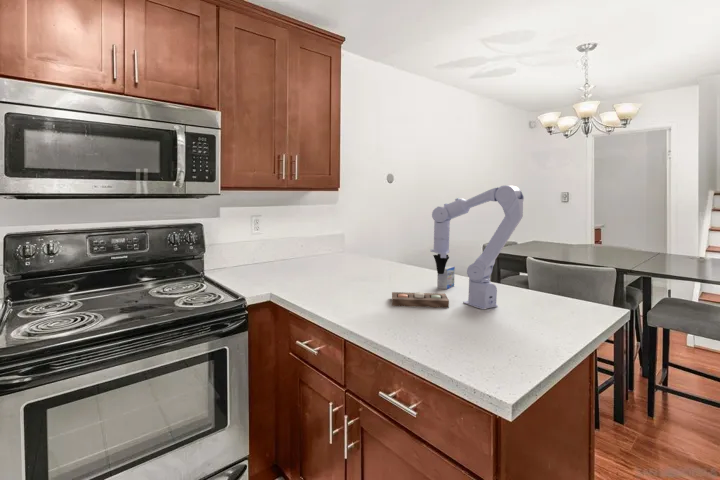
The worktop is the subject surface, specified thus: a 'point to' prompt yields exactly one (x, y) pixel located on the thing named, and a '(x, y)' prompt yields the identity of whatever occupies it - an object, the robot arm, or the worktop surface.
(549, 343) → the worktop surface
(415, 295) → the cream button
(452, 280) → the medicine box
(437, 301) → the button panel
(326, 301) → the worktop surface
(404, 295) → the terracotta button
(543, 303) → the worktop surface
